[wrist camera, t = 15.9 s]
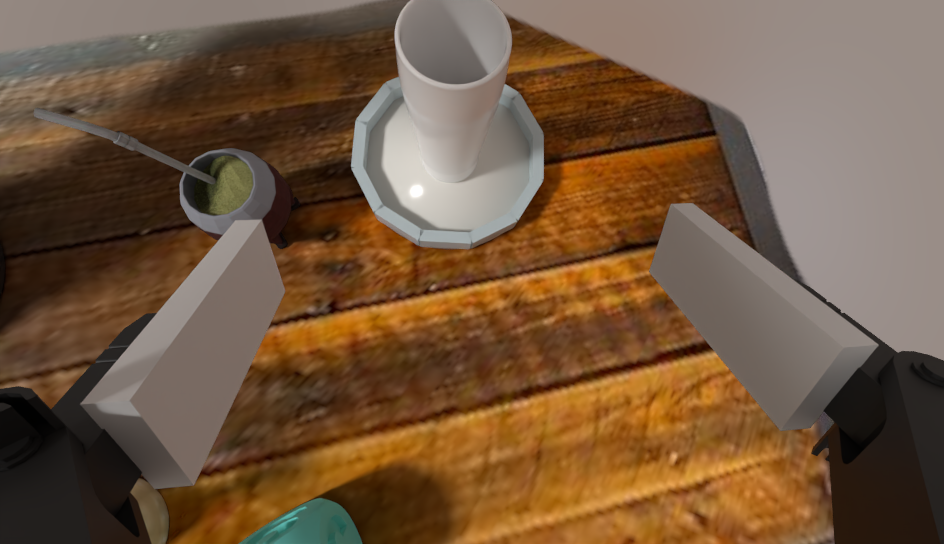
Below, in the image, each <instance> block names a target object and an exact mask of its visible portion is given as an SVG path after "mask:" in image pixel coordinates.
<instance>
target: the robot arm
mask: <svg viewBox="0 0 944 544" xmlns="http://www.w3.org/2000/svg"><path fill="white" fill-rule="evenodd" d="M649 272H650V274H651V275H652V276H653V277H654V278H655V280H656V281H657V282H658V283H659V284H660V286H661V287H662V288H663V289H664V291H665V292H666V293H667V294H668V295H669V297H670V298H671V299H672V300H673V301H674V303H675V304H676V305H677V306H678V307H679V309H680V310H681V311H682V312H683V314H684V315H685V316H686V317H687V318H688V320H689V321H690V322H691V323H692V324H693V326H694V327H695V328H696V329H697V330H698V332H699V333H700V334H701V335H702V337H703V338H704V339H705V340H706V341H707V343H708V344H709V345H710V346H711V347H712V349H713V350H714V351H715V352H716V353H717V355H718V356H719V357H720V358H721V360H722V361H723V362H724V363H725V364H726V366H727V367H728V368H729V369H730V370H731V372H732V373H733V374H734V375H735V376H736V378H737V379H738V380H739V381H740V383H741V384H742V385H743V386H744V387H745V389H746V390H747V391H748V392H749V393H750V395H751V396H752V397H753V398H754V399H755V401H756V402H757V403H758V404H759V406H760V407H761V408H762V409H763V410H764V412H765V413H766V414H767V415H768V416H769V418H770V419H771V420H772V421H773V422H774V424H775V425H776V426H777V427H778V429H779V430H780V431H784V430H794V429H805V428H811V426H812V425H813V424H814V423H815V422H816V420H817V419H818V418H819V417H820V416H821V414H822V413H823V412H825V413H826V414H827V415H828V416H829V417H830V418H831V419H832V420H833V421H834V422H835V423H834V424H833V425H832V426H831V428H830V429H829V430H828V431H827V432H826V433H825V434H824V436H823V437H822V438H821V439H820V440H819V441H818V442H817V444H816V445H815V446H814V447H813V450H812V453H811V454H813V455H816V456H818V454H819V453H820V452H821V451H822V450H823V449H824V448H829V455H828V456H827V457H826V459H825V460H827V461H829V462H830V477H831V493H832V508H833V524H834V540H835V544H944V361H943V360H941V359H938V358H935V357H933V356H930V355H927V354H922V353H918V352H914V351H913V352H912V351H911V352H909V351H901V352H899V353H897V352H896V351H895V350H893V349H892V348H891V347H889V346H888V345H887V344H885V343H884V342H882V341H881V340H880V339H878V338H877V337H876V336H875V335H873V334H872V333H871V332H869V331H868V330H867V329H865V328H864V327H862V326H861V325H860V324H859V323H857V322H856V321H855V320H853V319H852V318H850V317H849V316H848V315H846V314H845V313H841V312H840V311H841V310H840V309H838V308H837V307H836V306H834V305H833V304H832V303H830V302H827V301H826V299H825V298H824V297H822V296H821V295H820V294H818V293H817V292H816V291H814V290H813V289H812V288H810V287H809V286H807V285H805V284H803V283H801V282H799V281H796V280H794V279H792V278H790V277H789V276H788V275H786V274H785V273H784V272H782V271H781V270H780V269H778V268H777V267H776V266H774V265H773V264H772V263H770V262H769V261H768V260H767V259H765V258H764V257H763V256H761V255H760V254H759V253H757V252H756V251H755V250H753V249H752V248H751V247H749V246H748V245H747V244H745V243H744V242H743V241H742V240H740V239H739V238H738V237H736V236H735V235H734V234H732V233H731V232H730V231H728V230H727V229H726V228H724V227H723V226H722V225H720V224H719V223H718V222H717V221H715V220H714V219H713V218H711V217H710V216H709V215H707V214H706V213H705V212H703V211H702V210H701V209H699V208H698V207H697V206H696V205H694V204H693V203H684V204H671V205H670V208H669V211H668V214H667V217H666V220H665V224H664V227H663V230H662V233H661V236H660V239H659V242H658V246H657V249H656V252H655V255H654V258H653V261H652V264H651V267H650V271H649ZM4 277H5V261H4V255H3V250H2V247H1V244H0V296H1V292H2V289H3V284H4ZM284 293H285V289H284V286H283V283H282V280H281V277H280V274H279V271H278V268H277V264H276V261H275V258H274V255H273V252H272V249H271V246H270V243H269V240H268V237H267V234H266V231H265V228H264V225H263V222H262V220H235V222H234V223H233V224H232V225H231V226H230V228H229V229H228V230H227V231H226V232H225V233H224V235H223V236H222V237H221V238H220V239H219V241H218V242H217V243H216V244H215V245H214V246H213V248H212V249H211V250H210V251H209V252H208V254H207V255H206V256H205V257H204V258H203V259H202V261H201V262H200V263H199V264H198V265H197V267H196V268H195V269H194V270H193V271H192V272H191V274H190V275H189V276H188V277H187V278H186V280H185V281H184V282H183V283H182V284H181V285H180V287H179V288H178V289H177V290H176V291H175V293H174V294H173V295H172V296H171V297H170V299H169V300H168V301H167V302H166V303H165V304H164V306H163V307H162V308H161V309H160V310H159V312H158V313H151V314H145V315H144V316H142V317H141V318H139V319H138V320H136V321H135V322H134V323H132V324H131V325H129V326H128V327H126V328H125V329H124V330H123V331H122V332H121V333H120V334H119V335H118V336H117V337H116V338H115V339H114V341H113V342H112V343H111V344H110V345H109V349H105V351H104V352H103V353H102V354H101V355H100V356H99V357H98V358H97V359H96V363H95V364H92V365H91V366H90V367H89V368H88V369H87V370H86V372H85V373H84V374H83V375H82V376H81V377H80V378H79V379H78V380H77V381H76V383H75V384H74V385H73V386H72V387H71V388H70V389H69V390H68V391H67V393H66V394H65V395H64V396H63V397H62V398H61V399H60V400H59V401H58V402H57V404H56V405H55V406H54V407H53V408H52V409H50V408H49V407H48V406H47V405H46V404H45V403H44V402H43V401H42V400H41V399H40V398H39V397H38V395H37V394H36V393H35V392H34V391H33V390H32V389H30V388H24V387H19V386H18V387H11V388H4V389H0V544H152V543H151V540H150V537H149V534H148V531H147V528H146V525H145V522H144V519H143V516H142V513H141V510H140V507H139V504H138V501H137V500H136V498H135V497H134V496H133V495H132V494H131V493H130V492H131V490H132V489H133V487H134V485H135V484H136V482H137V480H138V479H139V477H140V475H141V474H142V475H143V477H144V478H145V479H146V480H147V481H148V482H149V483H150V484H151V486H152V487H153V488H154V489H161V488H172V487H183V486H193V485H194V484H195V482H196V480H197V478H198V476H199V474H200V472H201V469H202V467H203V465H204V463H205V461H206V459H207V457H208V455H209V452H210V450H211V448H212V446H213V444H214V442H215V440H216V438H217V435H218V433H219V431H220V429H221V427H222V425H223V423H224V421H225V418H226V416H227V414H228V412H229V410H230V408H231V406H232V404H233V401H234V399H235V397H236V395H237V393H238V391H239V389H240V387H241V384H242V382H243V380H244V378H245V376H246V374H247V372H248V370H249V367H250V365H251V363H252V361H253V359H254V357H255V355H256V353H257V350H258V348H259V346H260V344H261V342H262V340H263V338H264V336H265V333H266V331H267V329H268V327H269V325H270V323H271V321H272V319H273V316H274V314H275V312H276V310H277V308H278V306H279V304H280V302H281V299H282V297H283V295H284Z"/></svg>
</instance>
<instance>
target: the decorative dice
mask: <svg viewBox="0 0 944 544" xmlns="http://www.w3.org/2000/svg"><path fill="white" fill-rule="evenodd" d="M239 544H363V543H362V541H361V538H360V535H359V533H358V531H357V529H356V526H355V524H354V523H353V521H352V519H351V517H350V516H349V514H348V513H347V512H346V510H345V509H344V508H343V507H342V506H341V505H339V504H338V503H335V502H333V501H330V500H327V499H323V498H317V499H314V500H311V501H309V502H306V503H304V504H302V505H300V506H298V507H296V508H294V509H292V510H290V511H288V512H287V513H285V514H283V515H281V516H280V517H278V518H276V519H275V520H273V521H271V522H270V523H268V524H267V525H265V526H264V527H262V528H260V529H259V530H257V531H256V532H254V533H253V534H252V535H250V536H249V537H247V538H246V539H244V540H243V541H242V542H240V543H239Z"/></svg>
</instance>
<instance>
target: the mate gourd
mask: <svg viewBox="0 0 944 544" xmlns="http://www.w3.org/2000/svg"><path fill="white" fill-rule="evenodd" d="M34 116H35V117H36V118H40V119H43V120H47V121H50V122H54V123H58V124H61V125H65V126H68V127H72V128H75V129H79V130H82V131H86V132H89V133H92V134H95V135H98V136H101V137H104V138H107V139H110V140H112V141H113V143H115V144H117V145H119V146H122V147H124V148H127V149H129V150H131V151H133V150H136V151H138V152H140V153H143V154H145V155H147V156H149V157H152V158H154V159H156V160H158V161H160V162H163V163H165V164H167V165H169V166H171V167H174V168H176V169H178V170H180V171H183V172H184V173H183V176H182V179H181V181H180V202H181V206H182V207H183V209H184V211H185V213H186V214H187V216H188V218H189V220H190V221H192V222H193V223H194V224H195V226H197V227H198V228H200V229H201V230H203V231H204V232H205V233H207V234H208V235H210V236H211V237H213V238H214V239H216V240H219V239H220V238H221V237H222V236H223V235H224V233H225V232H226V231H227V230H228V229H229V228H230V226H231V225H232V224H233V223H234V222H235V220H262V222H263V225H264V228H265V231H266V234H267V237H268V240H269V243H274V244H276V245H277V247H278V248H280V249H283V248H284V247H286V246H287V245H288V244H287V242H286V240H285V238H284V236H283V235H282V233H281V230H282V229H283V227H284V226H285V225H286V224H287V221H288V218H289V214H290V212H291V211H292V210H294V209H296V208H298V207H299V206H300V203H299V201H298V199H297V198H296V197H295V198H293V194H292V190H291V188H290V187H289V186H288V184H287V183H286V181H285V180H284V179H283V178H282V176H281V175H280V174H279V172H278V171H277V170H276V169H275V168H274V167H272V166H271V165H270V164H268V163H267V162H265V161H264V160H262V159H261V158H260V157H258V156H256V155H254V154H253V153H251V152H247V151H243V150H239V149H234V148H226V149H219V150H212V151H209V152H207V153H205V154H203V155H201V156H199V157H197V158H195V159H194V160H193V161H192V162H191V163H190V165H189V166H188V165H185V164H183V163H181V162H179V161H177V160H175V159H173V158H171V157H169V156H166V155H164V154H162V153H160V152H158V151H156V150H154V149H152V148H150V147H148V146H146V145H143V144H141V143H139V142H138V140H137V139H135V138H133V137H131V136H128V135H126V134H124V133H122V132H119V131H118V132H114V131H112V130H109V129H106V128H103V127H100V126H97V125H94V124H91V123H88V122H85V121H81V120H78V119H75V118H71V117H68V116H64V115H61V114H57V113H54V112H51V111H47V110H44V109H40V108H35V110H34Z"/></svg>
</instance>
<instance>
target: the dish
mask: <svg viewBox="0 0 944 544" xmlns="http://www.w3.org/2000/svg"><path fill="white" fill-rule="evenodd" d="M356 120H357V121H355V131H354V141H353V151H352V162H351V169H352V171H353V173H354V175H355V177H356V179H357V181H358V183H359V185H360V187H361V189H362V191H363V193H364V194H365V196H366V198H367V200H368V202H369V204H370V206H371V208H372V210H373V212H374V214H375V216H376V218H377V219H378V220H379V221H380V222H382V223H383V224H385V225H386V226H388V227H389V228H391V229H392V230H393V231H395V232H396V233H398V234H399V235H401V236H402V237H404V238H406V239H408V240H410V241H412V242H413V243H415V244H417V245H418V246H421V247H432V248H439V249H470V248H471V249H472V248H474V247H476V246H478V245H480V244H483V243H485V242H487V241H490V240H492V239H494V238H496V237H497V236H499V235H501V234H502V233H504V232H506V231H508V230H510V229H512V228H513V227H515V225H516V223H517V222H518V220H519V219H520V217H521V216H522V214H523V212H524V211H525V209H526V208H527V206H528V204H529V203H530V201H531V200H532V198H533V197H534V195H535V193H536V192H537V190H538V189H539V187H540V185H541V184H542V182H543V180H544V134H543V131H542V130H541V128H540V126H539V125H538V123H537V121H536V119H535V118H534V116H533V114H532V113H531V111H530V109H529V108H528V106H527V104H526V103H525V101H524V99H523V97H522V96H521V94H519V92H517V91H516V90H514V89H512V88H511V87H509V86H507V85H506V84H505V85H504V89H503V92H502V96H501V99H500V102H499V105H498V107H497V110H496V113H495V115H494V118H493V120H492V123H491V125H490V128H489V131H488V133H487V136H486V138H485V141H484V144H483V146H482V149H481V152H480V155H479V160H478V163H477V166H476V168H475V170H474V171H473V172H472V174H471V175H470V176H468V177H467V178H465V179H464V180H462V181H459V182H454V183H446V182H441V181H439V180H436V179H435V178H433V177H432V176H430V175H429V174H428V173H427V172H426V170H425V169H424V167H423V165H422V162H421V159H420V151H419V148H418V144H417V141H416V137H415V134H414V131H413V127H412V124H411V121H410V118H409V114H408V111H407V108H406V104H405V101H404V98H403V94H402V89H401V85H400V80H399V77H397V78H394V79H392V80H390V81H387V82H386V84H385V83H384V84H383V86H382V87H381V88H380V89H379V91H378V92H377V93H376V94H375V96H374V97H373V98H372V100H371V101H370V102H369V103H368V105H367V106H366V107H365V109H364V110H363V111H362V112H361V114H360V115H359V116H358V118H357V119H356Z"/></svg>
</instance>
